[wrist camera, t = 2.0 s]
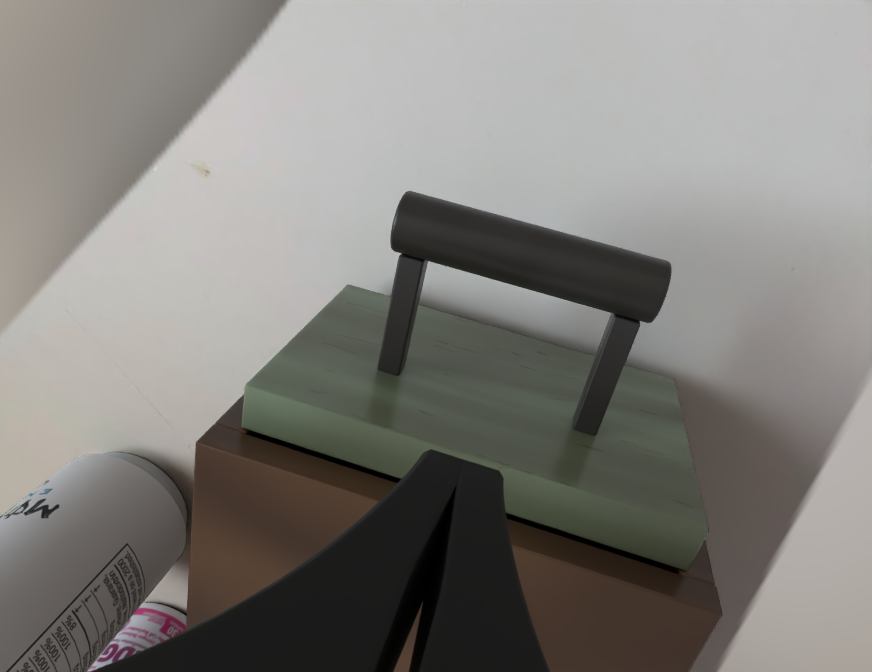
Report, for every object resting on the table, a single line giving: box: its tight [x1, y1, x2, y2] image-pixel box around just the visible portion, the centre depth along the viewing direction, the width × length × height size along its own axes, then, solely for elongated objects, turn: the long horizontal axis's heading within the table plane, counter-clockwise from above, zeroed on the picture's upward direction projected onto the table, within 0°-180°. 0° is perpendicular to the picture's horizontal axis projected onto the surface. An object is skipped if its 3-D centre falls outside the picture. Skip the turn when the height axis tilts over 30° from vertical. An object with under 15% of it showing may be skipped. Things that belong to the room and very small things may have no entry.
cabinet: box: [186, 395, 722, 672], centre depth 20 cm, size 14×12×9 cm
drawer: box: [241, 191, 709, 571], centre depth 19 cm, size 17×10×7 cm, turn 168°
